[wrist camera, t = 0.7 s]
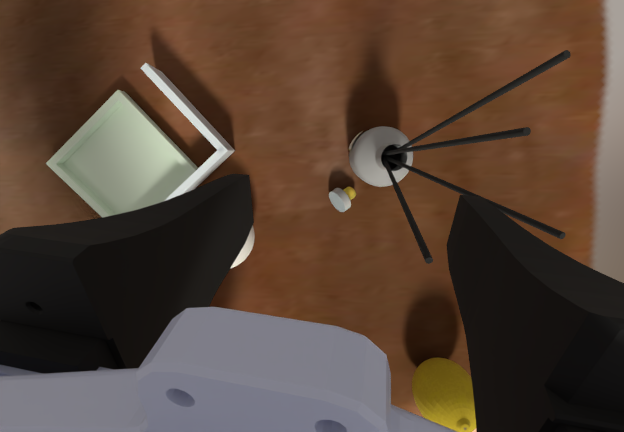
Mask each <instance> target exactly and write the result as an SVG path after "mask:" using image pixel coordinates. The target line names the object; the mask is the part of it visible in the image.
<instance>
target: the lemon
mask: <svg viewBox="0 0 624 432" xmlns="http://www.w3.org/2000/svg"><path fill="white" fill-rule="evenodd" d="M412 392H413V396H414V399H415V402H416V405H417V407H418V409H419V410H420V412H421V414H422V415H423V417H424V418H425V419H428V420H430V421H433V422H435V423H438V424H440V425H443V426H445V427H448V428H450V429H452V430H455V431H457V432H472V431H473V430H475V428H476V418H475V407H474V396H473V387H472V378H471V377H470V376H469V374H468V373H467V372H466V371H465V370H464V369H463V368H462V367H461V366H459V365H458V364H457V363H455V362H453V361H451V360H449V359H446V358H439V357H437V358H430V359H428V360H425V361H424V362H422V363H421V364H420V365H419V366H418V367H417V369H416V371H415V372H414V376H413V379H412Z"/></svg>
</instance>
